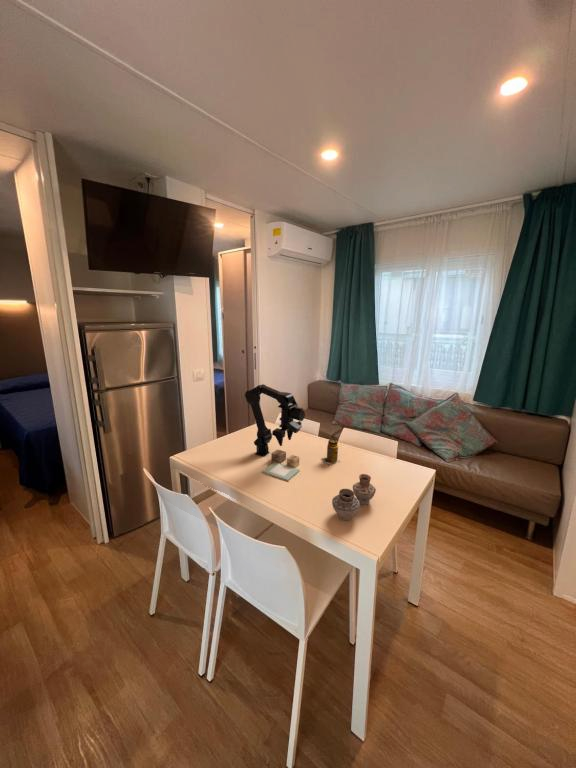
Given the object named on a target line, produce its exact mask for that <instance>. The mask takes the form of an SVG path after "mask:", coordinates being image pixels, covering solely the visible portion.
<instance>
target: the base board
mask: <svg viewBox="0 0 576 768" xmlns="http://www.w3.org/2000/svg"><path fill="white" fill-rule="evenodd" d="M299 472H301V469H299V468H297V467H296V468H293V467H290V466H287V464H283V463H281V464H280V463H277V462H272V463H271V464H269V466H267V467H266V468H264V469H262V471H261V473H263V474H265V475H269V476H272V477H275V478H277V479H280V480H283V481H286V482H290V480H291V479H292V478H294V477H295V476H297V474H298V473H299Z"/></svg>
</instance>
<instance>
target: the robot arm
mask: <svg viewBox="0 0 576 768" xmlns="http://www.w3.org/2000/svg"><path fill="white" fill-rule="evenodd" d="M262 394H263V395H266V396H268V397H269V398H273V399H274V400H276V401H277V402H278V404H279V405H278V406H277V407H278V408H280V410H281V412H280V413H281V416H280V417H279V419H278V420H279V421H280V425H279V426H278V428H275V429H273V430H272V429H271V428H268V427H267V426H266V423H265V418H264V415H263V412H262V407H261V405H260V403H261V402H260V401H261V395H262ZM244 397H245V399H246V402H247V403H248V404H249V405H250V407H251V410H252V414H253V418H254V420H255V424H256V428H257V430H256V431H257V432H256V439H255V440H254V441H253V444H254V445H255V446H256V451H255V452H254V455H257V456H260V457H266V456H267V455H268V454H271V453H270V450H269V443H271V440H272V438H273V436H274V438H276V440H277V443H278V445H279V446H280V447H282V446H283V443H284V442H283V441H284V438H285V437H286V436H287V439H288V440H289V441H291V439H292V436H293V435H294V434H298V433H299V432H300V430H301V428H303V426H302V422H303V421H304V420H305V417H306V412H305V410H304V407H299V404H298V403H297V401H296V399H295V397H294V394H293V393H291V392H287V391H286V392H285V391H279V390H277V389H275V388H272V387H270V386H268V385H266V384H264V383H263V384H259V385H257V386H255V387H254V388H252V389H249V390H246V391H245V393H244ZM294 420H296V421H294Z"/></svg>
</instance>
